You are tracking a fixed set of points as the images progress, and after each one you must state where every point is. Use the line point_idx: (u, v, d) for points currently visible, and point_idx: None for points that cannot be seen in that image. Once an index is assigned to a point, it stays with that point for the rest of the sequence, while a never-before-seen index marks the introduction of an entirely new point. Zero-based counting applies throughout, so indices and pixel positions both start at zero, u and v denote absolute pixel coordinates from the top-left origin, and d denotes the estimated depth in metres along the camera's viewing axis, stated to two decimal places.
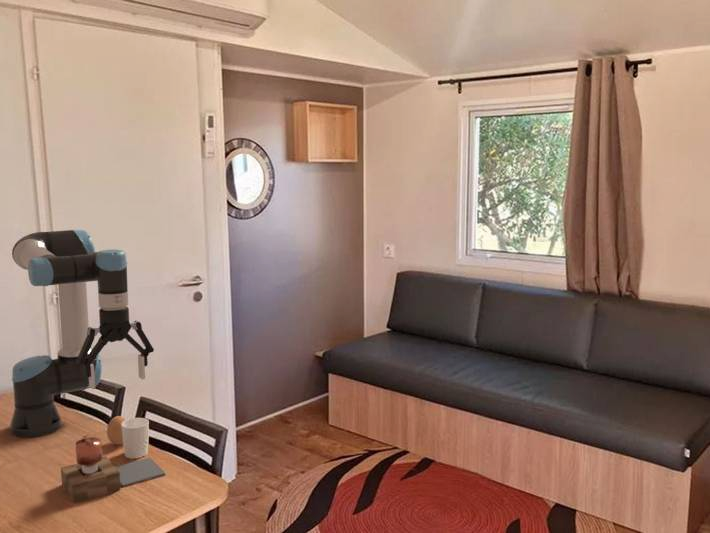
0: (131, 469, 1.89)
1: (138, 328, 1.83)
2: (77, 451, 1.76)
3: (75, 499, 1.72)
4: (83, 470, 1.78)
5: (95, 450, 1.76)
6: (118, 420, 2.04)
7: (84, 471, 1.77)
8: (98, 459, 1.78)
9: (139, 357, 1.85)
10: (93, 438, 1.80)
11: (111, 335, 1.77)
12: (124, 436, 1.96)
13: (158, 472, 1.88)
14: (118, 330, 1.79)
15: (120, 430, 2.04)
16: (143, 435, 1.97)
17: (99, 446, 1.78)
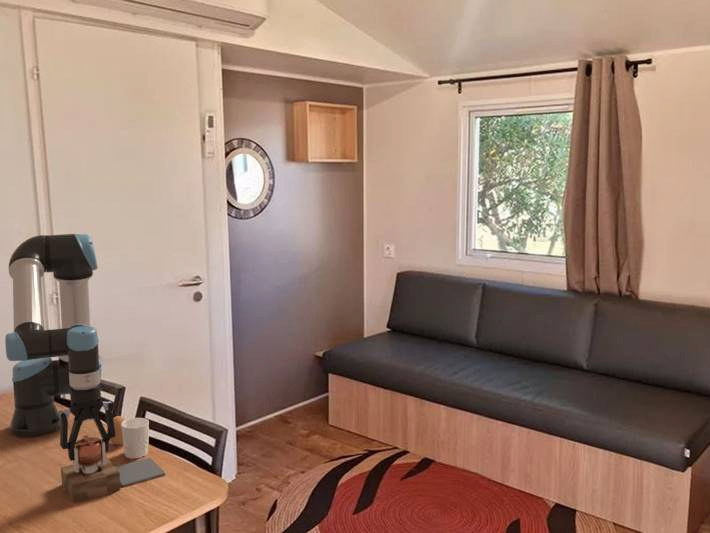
0: (131, 469, 1.89)
1: (109, 409, 1.79)
2: None
3: (75, 499, 1.72)
4: (83, 470, 1.78)
5: (95, 450, 1.76)
6: (118, 420, 2.04)
7: (84, 471, 1.77)
8: (98, 459, 1.78)
9: None
10: (93, 438, 1.80)
11: (83, 414, 1.74)
12: (124, 436, 1.96)
13: (158, 472, 1.88)
14: (90, 407, 1.76)
15: (120, 430, 2.04)
16: (143, 435, 1.97)
17: (99, 446, 1.78)
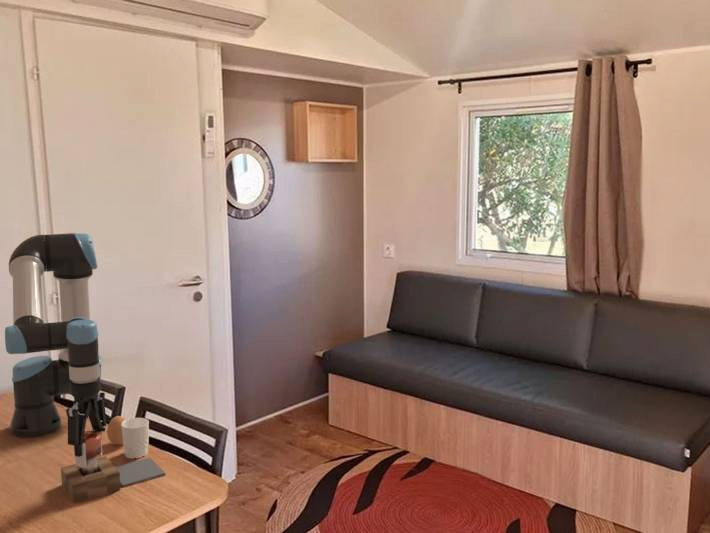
0: (131, 469, 1.89)
1: None
2: None
3: (75, 499, 1.72)
4: None
5: None
6: (118, 420, 2.04)
7: None
8: None
9: None
10: (88, 439, 1.76)
11: None
12: (124, 436, 1.96)
13: (158, 472, 1.88)
14: None
15: (120, 430, 2.04)
16: (143, 435, 1.97)
17: None
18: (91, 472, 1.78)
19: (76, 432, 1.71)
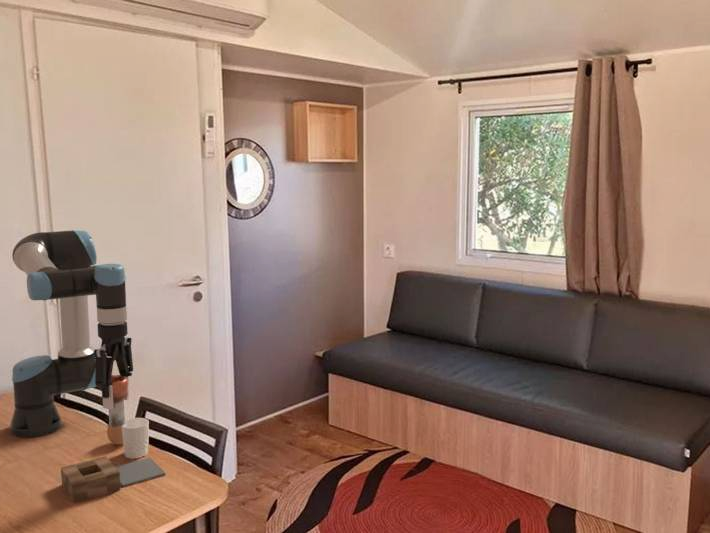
0: (131, 469, 1.89)
1: None
2: None
3: (75, 499, 1.72)
4: None
5: None
6: None
7: None
8: None
9: None
10: (115, 381, 1.79)
11: None
12: (124, 436, 1.96)
13: (158, 472, 1.88)
14: None
15: (120, 430, 2.04)
16: (143, 435, 1.97)
17: None
18: (118, 415, 1.81)
19: (103, 372, 1.73)
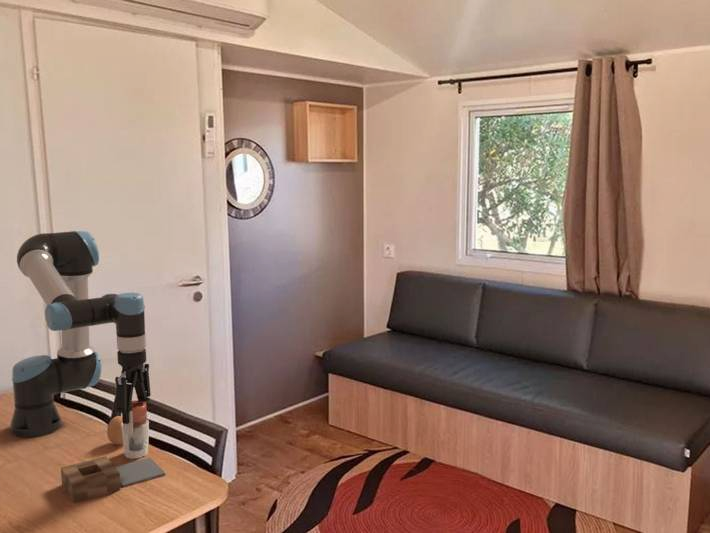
0: (131, 469, 1.89)
1: None
2: None
3: (75, 499, 1.72)
4: None
5: None
6: (118, 420, 2.04)
7: None
8: None
9: None
10: (135, 407, 1.83)
11: None
12: (124, 436, 1.96)
13: (158, 472, 1.88)
14: None
15: (120, 430, 2.04)
16: (143, 435, 1.97)
17: None
18: (137, 440, 1.85)
19: (124, 399, 1.78)
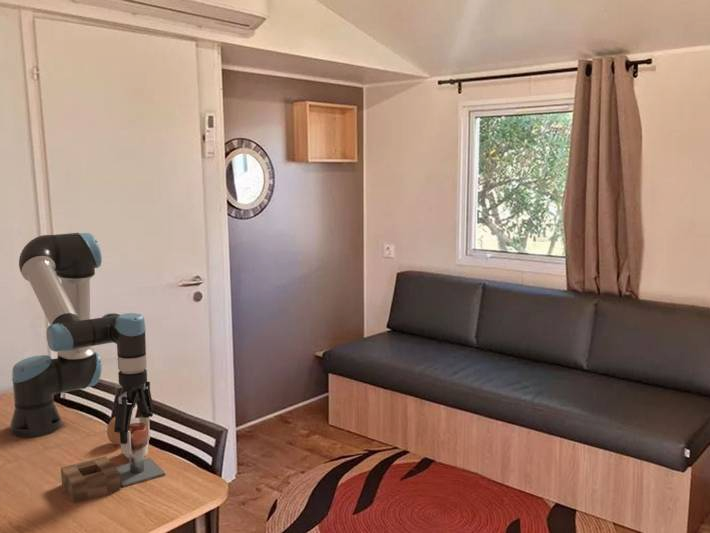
0: None
1: None
2: None
3: (75, 499, 1.72)
4: None
5: None
6: None
7: None
8: None
9: None
10: (136, 430, 1.84)
11: None
12: None
13: (158, 472, 1.88)
14: None
15: None
16: None
17: None
18: (138, 462, 1.87)
19: (123, 419, 1.78)
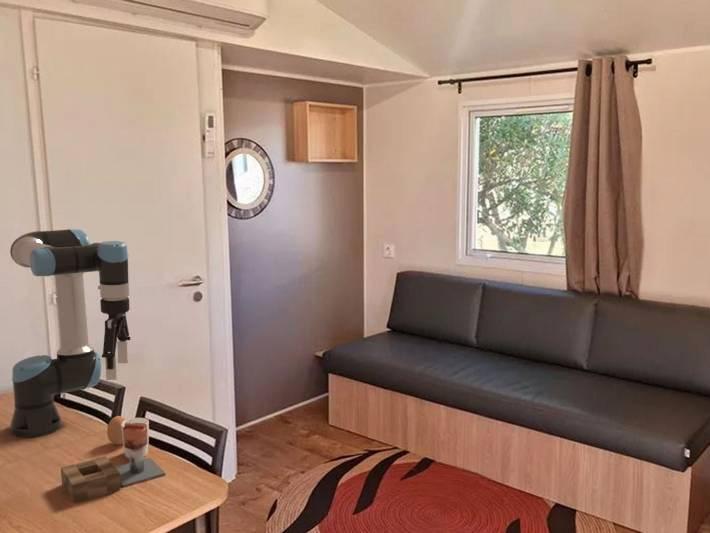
0: None
1: None
2: None
3: (75, 499, 1.72)
4: None
5: None
6: (118, 420, 2.04)
7: None
8: None
9: None
10: (136, 430, 1.85)
11: None
12: None
13: (158, 472, 1.88)
14: None
15: (120, 430, 2.04)
16: None
17: (123, 432, 1.85)
18: (138, 462, 1.87)
19: (113, 342, 1.77)
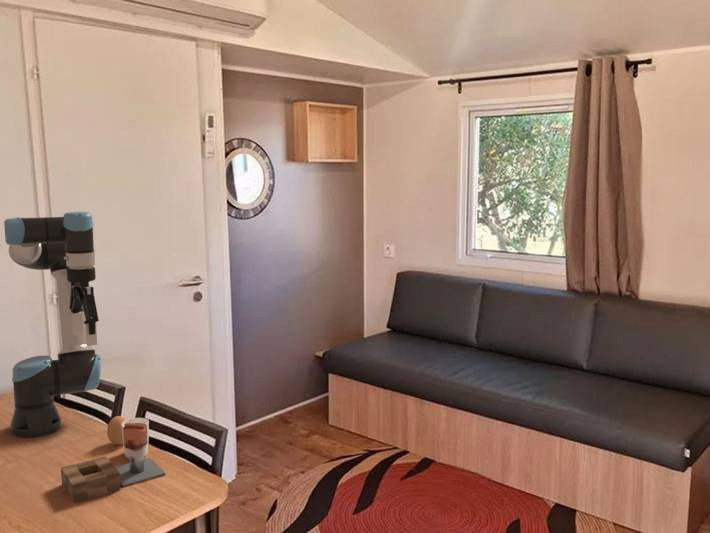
0: None
1: (83, 293, 1.83)
2: None
3: (75, 499, 1.72)
4: None
5: None
6: (118, 420, 2.04)
7: None
8: None
9: None
10: (136, 430, 1.85)
11: (73, 291, 1.88)
12: None
13: (158, 472, 1.88)
14: None
15: (120, 430, 2.04)
16: None
17: (123, 432, 1.85)
18: (138, 462, 1.87)
19: None
